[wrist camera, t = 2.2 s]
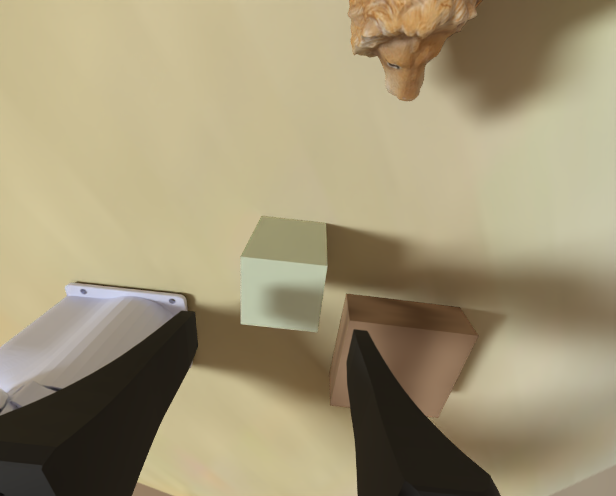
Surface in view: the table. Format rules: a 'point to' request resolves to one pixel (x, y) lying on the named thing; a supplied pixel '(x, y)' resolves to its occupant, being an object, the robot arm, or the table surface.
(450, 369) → the walnut block
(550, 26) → the table surface
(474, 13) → the lion figurine
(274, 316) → the sage block
